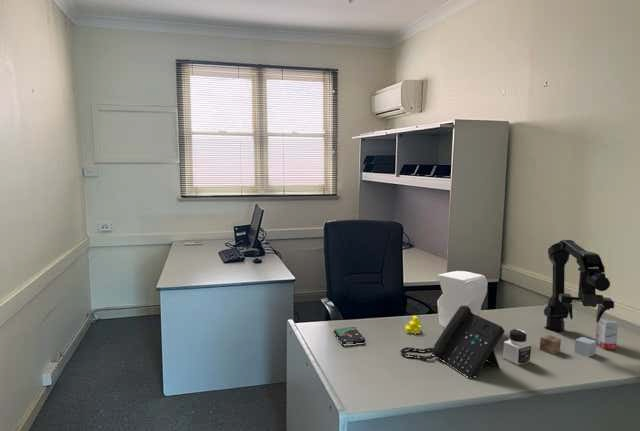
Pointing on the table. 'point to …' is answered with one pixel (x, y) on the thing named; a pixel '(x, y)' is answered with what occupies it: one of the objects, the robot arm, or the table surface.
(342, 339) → the disk drive
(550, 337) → the walnut cube
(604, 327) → the ink box
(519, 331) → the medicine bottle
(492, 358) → the office phone
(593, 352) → the painted cube
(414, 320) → the yellow ball pyramid
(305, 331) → the table surface
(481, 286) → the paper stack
